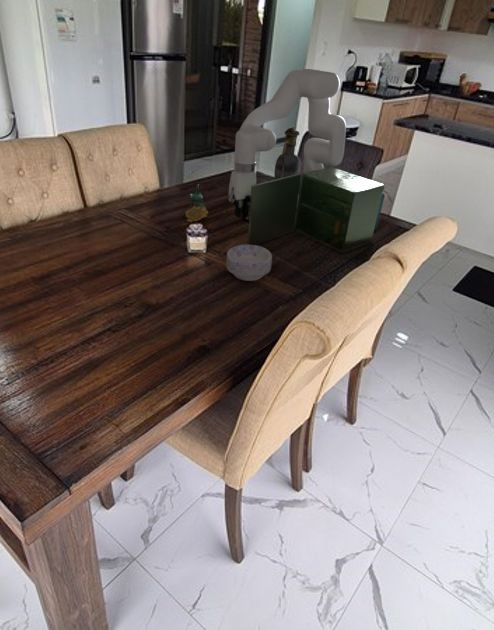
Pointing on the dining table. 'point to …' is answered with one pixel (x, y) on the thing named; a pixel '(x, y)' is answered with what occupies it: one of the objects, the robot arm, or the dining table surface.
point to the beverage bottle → (379, 211)
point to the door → (271, 209)
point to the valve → (338, 227)
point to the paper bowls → (248, 262)
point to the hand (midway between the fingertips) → (241, 215)
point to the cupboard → (337, 208)
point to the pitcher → (288, 156)
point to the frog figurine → (199, 211)
